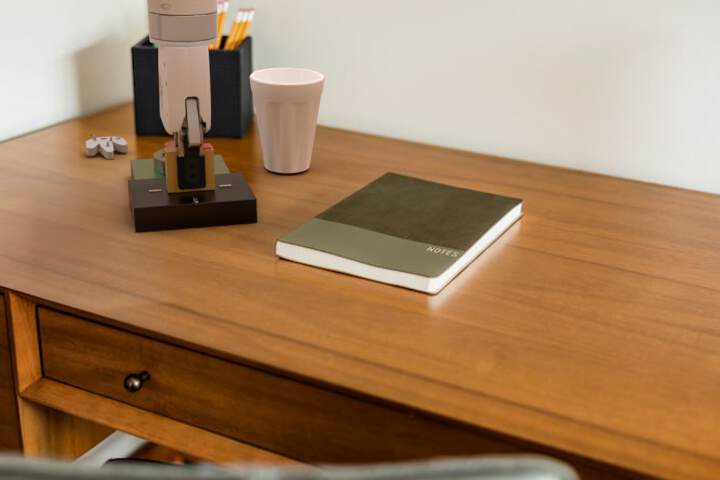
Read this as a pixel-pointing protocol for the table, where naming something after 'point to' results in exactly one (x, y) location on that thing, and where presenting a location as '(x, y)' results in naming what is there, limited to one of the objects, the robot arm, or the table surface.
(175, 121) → the robot arm
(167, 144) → the button
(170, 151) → the tan block
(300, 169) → the cup
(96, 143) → the game controller
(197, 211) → the panel
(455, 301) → the table surface
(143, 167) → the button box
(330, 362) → the table surface
